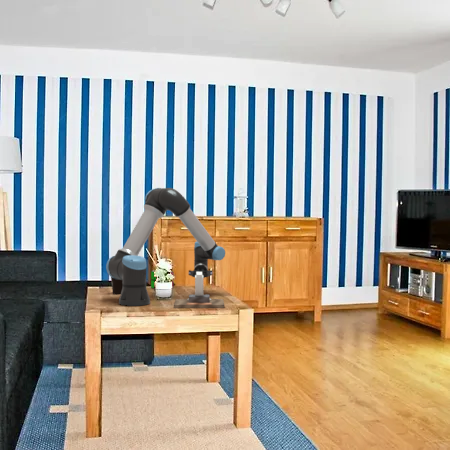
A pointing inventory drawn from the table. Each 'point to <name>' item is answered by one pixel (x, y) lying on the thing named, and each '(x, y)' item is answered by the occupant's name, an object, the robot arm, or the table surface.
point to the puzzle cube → (155, 279)
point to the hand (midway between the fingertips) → (199, 276)
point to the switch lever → (198, 284)
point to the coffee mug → (117, 285)
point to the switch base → (214, 303)
